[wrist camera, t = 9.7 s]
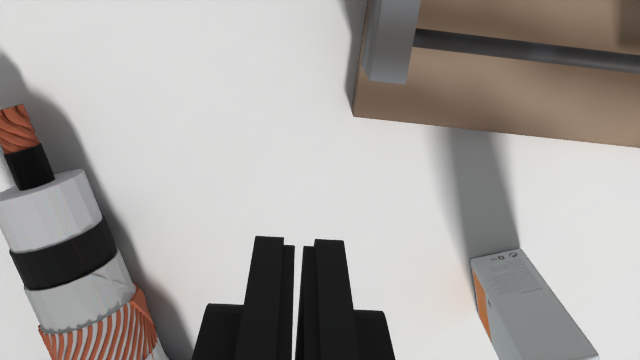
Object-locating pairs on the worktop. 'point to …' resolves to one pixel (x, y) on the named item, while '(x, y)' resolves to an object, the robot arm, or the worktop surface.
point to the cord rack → (504, 67)
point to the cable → (69, 257)
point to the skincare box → (524, 311)
